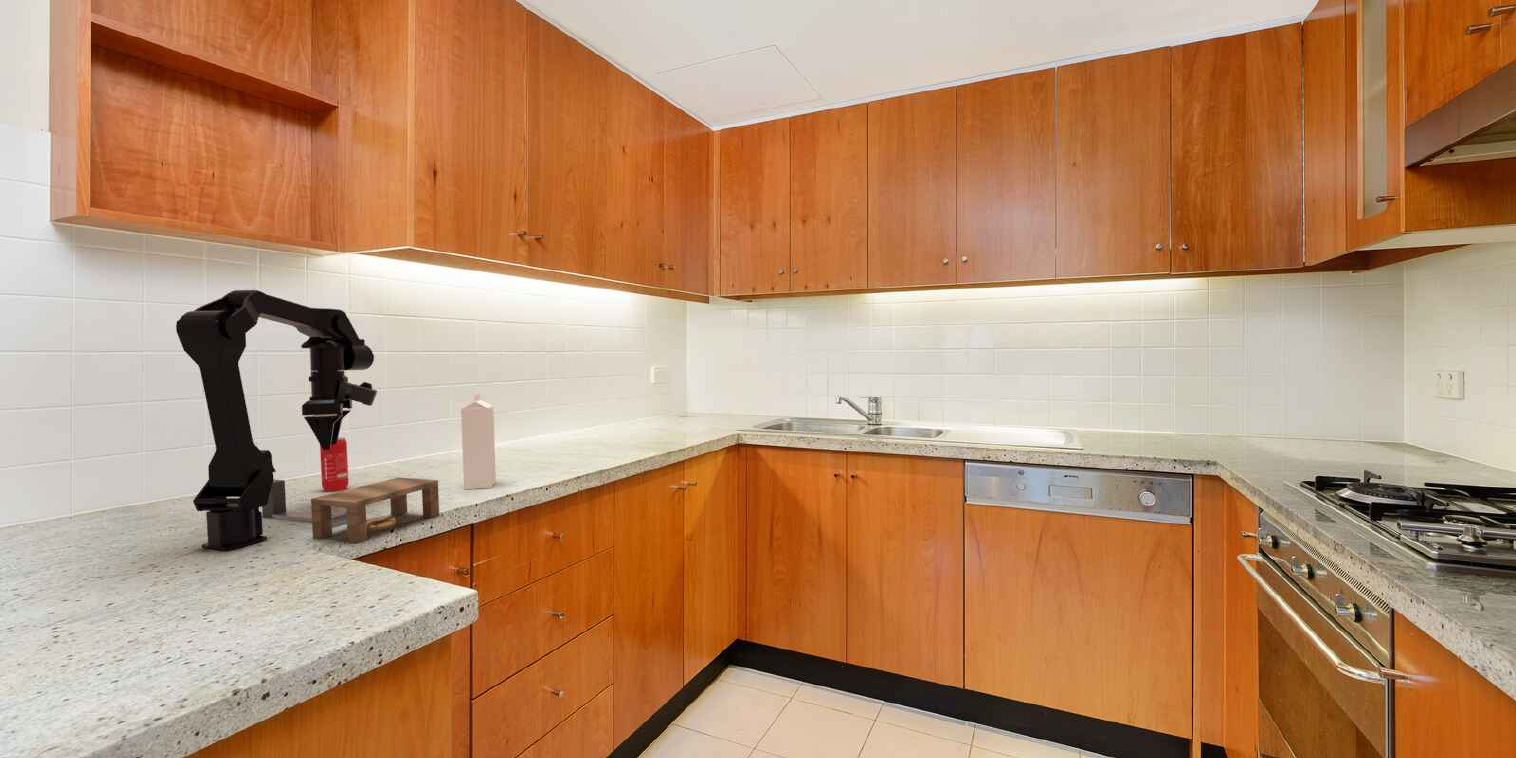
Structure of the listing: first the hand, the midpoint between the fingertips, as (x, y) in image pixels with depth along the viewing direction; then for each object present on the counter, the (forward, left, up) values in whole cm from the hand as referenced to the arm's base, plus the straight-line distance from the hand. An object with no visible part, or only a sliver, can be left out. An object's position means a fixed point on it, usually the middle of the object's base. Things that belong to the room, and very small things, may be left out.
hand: (330, 447), depth 129 cm
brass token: (-7, -20, -13) cm, 25 cm away
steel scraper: (-7, -2, -13) cm, 15 cm away
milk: (+26, -14, -13) cm, 32 cm away
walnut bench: (-7, -20, -13) cm, 25 cm away
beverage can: (+14, +17, -13) cm, 25 cm away
